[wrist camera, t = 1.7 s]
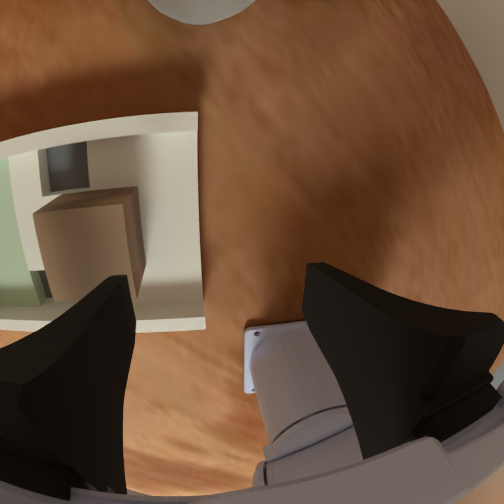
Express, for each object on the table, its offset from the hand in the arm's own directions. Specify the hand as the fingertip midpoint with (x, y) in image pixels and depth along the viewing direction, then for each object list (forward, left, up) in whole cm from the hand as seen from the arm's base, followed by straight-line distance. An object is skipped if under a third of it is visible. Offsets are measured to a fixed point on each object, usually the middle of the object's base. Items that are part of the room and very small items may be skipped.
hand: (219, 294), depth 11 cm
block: (+7, 0, -8) cm, 10 cm away
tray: (+10, 0, -9) cm, 13 cm away
